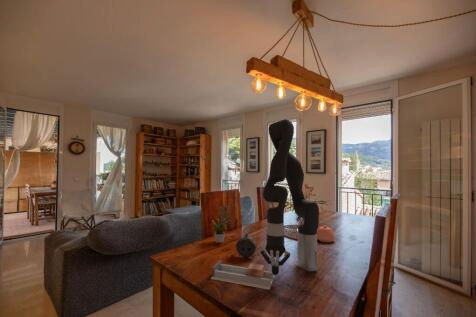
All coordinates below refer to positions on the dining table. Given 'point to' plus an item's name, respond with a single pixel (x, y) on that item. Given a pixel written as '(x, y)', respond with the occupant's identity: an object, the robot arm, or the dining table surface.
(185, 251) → the dining table surface
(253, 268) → the block
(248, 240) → the alarm clock
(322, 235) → the sugar bowl
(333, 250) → the dining table surface
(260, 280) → the chute
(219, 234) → the house plant
